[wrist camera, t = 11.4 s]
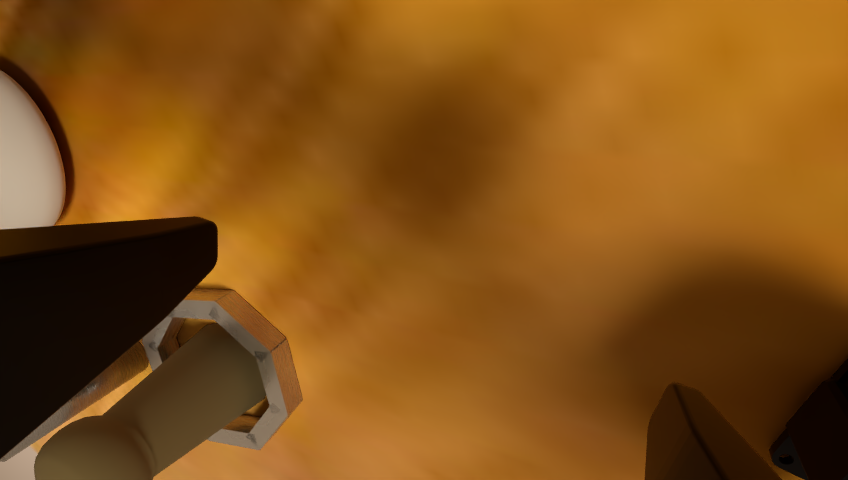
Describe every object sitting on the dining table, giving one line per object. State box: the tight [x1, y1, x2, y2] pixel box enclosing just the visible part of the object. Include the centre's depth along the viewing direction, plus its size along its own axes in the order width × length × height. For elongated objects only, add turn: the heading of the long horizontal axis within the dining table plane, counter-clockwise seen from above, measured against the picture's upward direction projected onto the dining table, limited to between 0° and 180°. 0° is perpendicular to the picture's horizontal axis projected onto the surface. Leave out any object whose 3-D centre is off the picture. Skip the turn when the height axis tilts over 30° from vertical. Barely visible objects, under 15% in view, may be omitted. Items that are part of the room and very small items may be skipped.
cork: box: [34, 323, 266, 480], centre depth 27 cm, size 6×6×11 cm
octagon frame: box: [0, 289, 302, 462], centre depth 29 cm, size 16×10×9 cm, turn 98°
